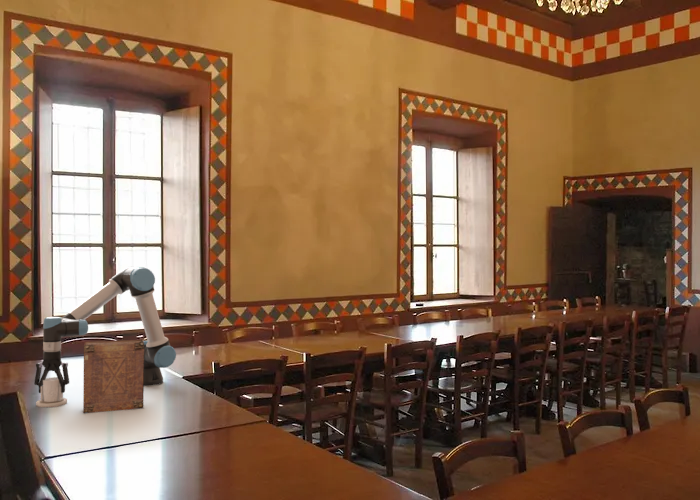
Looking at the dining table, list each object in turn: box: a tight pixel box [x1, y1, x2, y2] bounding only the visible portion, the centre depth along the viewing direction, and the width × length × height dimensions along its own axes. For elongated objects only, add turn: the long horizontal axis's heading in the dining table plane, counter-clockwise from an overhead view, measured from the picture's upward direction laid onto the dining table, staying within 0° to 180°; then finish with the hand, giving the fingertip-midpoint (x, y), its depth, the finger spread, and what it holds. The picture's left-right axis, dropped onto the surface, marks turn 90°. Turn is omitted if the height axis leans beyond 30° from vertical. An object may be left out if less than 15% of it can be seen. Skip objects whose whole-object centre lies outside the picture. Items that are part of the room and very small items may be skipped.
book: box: [82, 339, 145, 414], centre depth 285 cm, size 25×9×30 cm, turn 111°
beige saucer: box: [35, 397, 68, 409], centre depth 293 cm, size 13×13×2 cm
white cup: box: [43, 376, 61, 402], centre depth 293 cm, size 8×8×10 cm
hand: (51, 399), depth 293 cm, fingers closed on white cup, 8 cm apart
